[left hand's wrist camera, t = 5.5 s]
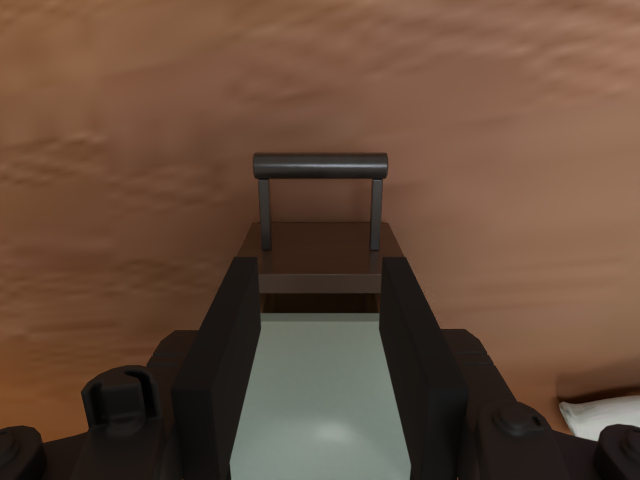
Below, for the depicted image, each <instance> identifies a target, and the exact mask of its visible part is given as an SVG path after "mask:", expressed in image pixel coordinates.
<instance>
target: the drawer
mask: <svg viewBox="0 0 640 480" xmlns="http://www.w3.org/2000/svg"><path fill="white" fill-rule="evenodd" d="M253 173H254V177H255V178H256V179H259V180H258V185H259V206H260V223H253V224H252V226H251V228H250V230H249V232H248V234H247V236H246V238H245V240H244V242H243V245H242V247H241V249H240V251H239V253H238V255H237V257H257V259H258V277H259V296H260V313H380V296H381V277H382V258H383V257H404V255H403V253H402V251H401V249H400V247H399V245H398V243H397V240H396V238H395V236H394V234H393V232H392V230H391V228H390V226H389V224H388V223H381V207H382V187H383V180H382V179H385V178H386V177H387V173H388V156H387V153H254V156H253ZM269 179H372V184H371V209H370V223H271V208H270V183H269Z"/></svg>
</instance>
